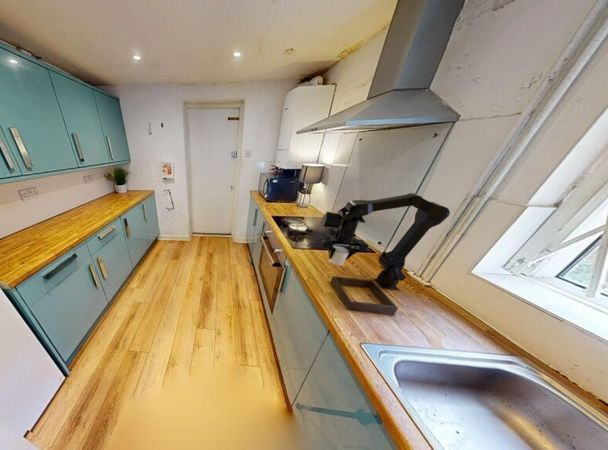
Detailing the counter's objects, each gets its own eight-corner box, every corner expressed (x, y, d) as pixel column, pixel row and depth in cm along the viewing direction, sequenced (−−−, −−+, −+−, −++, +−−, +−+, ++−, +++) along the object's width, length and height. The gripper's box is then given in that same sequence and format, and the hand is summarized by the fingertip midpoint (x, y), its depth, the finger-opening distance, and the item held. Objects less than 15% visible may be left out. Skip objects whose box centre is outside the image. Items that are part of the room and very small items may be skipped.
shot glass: (347, 267, 90) (352, 254, 87) (330, 265, 91) (335, 252, 88) (341, 258, 96) (345, 246, 93) (325, 257, 97) (329, 244, 94)
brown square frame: (369, 287, 89) (372, 280, 87) (393, 315, 74) (398, 307, 73) (330, 282, 90) (332, 275, 89) (346, 309, 76) (350, 302, 75)
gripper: (360, 223, 92) (349, 252, 99) (318, 220, 94) (310, 248, 101) (375, 234, 82) (362, 265, 89) (328, 230, 84) (318, 261, 91)
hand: (337, 259), depth 93 cm, fingers closed on shot glass, 6 cm apart
